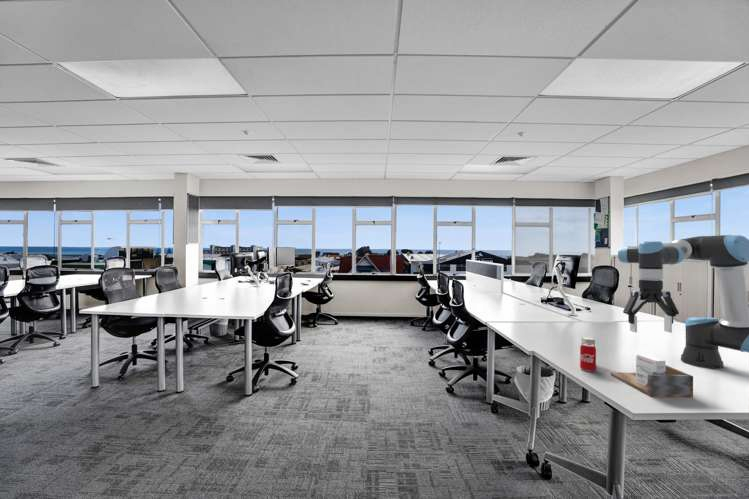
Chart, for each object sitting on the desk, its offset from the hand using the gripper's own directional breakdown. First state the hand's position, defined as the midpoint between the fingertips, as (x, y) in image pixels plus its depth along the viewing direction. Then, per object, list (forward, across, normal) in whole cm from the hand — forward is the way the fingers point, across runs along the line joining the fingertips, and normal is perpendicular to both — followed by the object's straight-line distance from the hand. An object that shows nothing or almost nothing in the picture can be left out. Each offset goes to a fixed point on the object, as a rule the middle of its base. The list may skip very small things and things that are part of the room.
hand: (650, 331), depth 133 cm
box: (+24, +7, -29) cm, 38 cm away
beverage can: (+24, +12, -21) cm, 34 cm away
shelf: (+23, -2, -4) cm, 24 cm away
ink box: (+22, 0, 0) cm, 22 cm away
